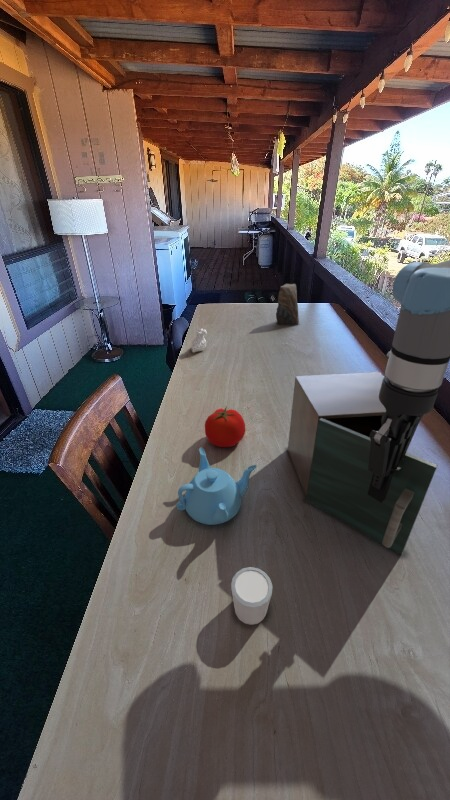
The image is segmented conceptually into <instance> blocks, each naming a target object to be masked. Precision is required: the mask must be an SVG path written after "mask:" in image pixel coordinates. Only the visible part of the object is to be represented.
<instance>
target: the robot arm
mask: <svg viewBox="0 0 450 800" xmlns="http://www.w3.org/2000/svg"><path fill="white" fill-rule="evenodd" d="M391 288H392V295H393V297H394V300H395V301H396V302H398V303H399V304H400V308H399V312H398V318H397V321H396V326H395V331H394V334H393V335H394V336H393V338H392V343H391V347H390V351H388V352H387V353H386V357H387V358H388V359H387V363H386V367H385V370H384V371H385V372H384V375H385V376H384V378H383V381H382V385H381V389H380V393H379V400H380V402H381V403H382V404H383V406H384V407H385V409H386V412H384V414H383V415H382V419H381V423H382V425H381V428H380V430H379V431H375V430H372V431H371V433H370V436H369V437H370V440H371V446H370V455H369V465H368V471H370V472H371V473H373V476H372V480H371V483H370V487H369V490H368V495H369V496H371V497H373V498H374V499H376V500H377V501H379V502H380V503H382V502H383V501H384V500H385V499H386V495H387V492H388V489H389V486H390V483H391V480H392V477H393V474H394V471H393V470H395V471H397V472H400V470H401V469H402V468H401V467H400V466H398V463H399V462H400V463H401V462H402V461H403V459H404V456H405V454H406V452H407V453H408V449H409V447H410V445H411V442H412V440H413V437H414V435H415V433H416V430H417V429H418V426H419V424H420V422H421V420H422V418H423V417H424V415H427V414H429V413H430V412H431V411H432V410H433V408H434V405H435V403H436V399H437V397H438V394H439V391H440V390H439V388H440V387H441V386H442V384H443V381H444V378H445V375H446V373H447V370H448V367H449V363H450V259H448V260H445V261H444V260H443V261H441V262H437V263H430V262H427V261H422V262H421V261H413V262H410V263H408V264H406V265H405V266H403V267H402V268H401V269H400V270H399V271H398V273H397V274H396V276H395V278H394V280H393V283H392V287H391Z"/></svg>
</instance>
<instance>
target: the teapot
mask: <svg viewBox="0 0 450 800" xmlns="http://www.w3.org/2000/svg"><path fill="white" fill-rule="evenodd" d="M198 453H199V459H200V460H199V466H198V472H197V473H196V475H194V476H193V478H192V479H191V480H190V482H189V483H185V484H182V485H181V486H180V487H179V488H178V491H177V496H178V498H179V501H177V502H176V505H175V506H176V509H177V510H178V511H186V513H187V514H188V516H189V517H190V518H191V519H193V520H194V521H195V522H198V523H200V524H203V525H208V526H215V525H221V524H224V523H226V522H228V521H230V520H231V519H233V518H234V517H235V516H236V515H237V514H238V512H239V511H240V510H241V505H242V497H243V496H244V495H245V494H246V492H247V491H248V490H249V489H248V488H249V483H250V477H251V474H252V473H253V471H255V469H256V468H257V465H256V464H252V465H250V466H248V467H247V468H245V470H244V471H243V473H242V476H241V477H240V479H239V480H238V481H235V480H234V478H233V477H232V476H231V475H230V474H229V473H228V472H226V471H225V470H224V469H222V468H218V467H211V466H210V464H209V461H208V458H207V453H206V451H205V449H204V447H199V449H198ZM183 492H184V496H183Z"/></svg>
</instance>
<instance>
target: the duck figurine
mask: <svg viewBox="0 0 450 800" xmlns="http://www.w3.org/2000/svg"><path fill="white" fill-rule="evenodd" d="M194 334H195V336H196V337H194V338H193V340H192V343H191V352H192V353H197V352H203V351H204V350H205V349H206V347H207V340H206V339H205V337H206V336H208V332H207V330H206V329H205V328H199V329H197V331H196V332H195V333H194Z"/></svg>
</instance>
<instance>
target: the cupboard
mask: <svg viewBox="0 0 450 800" xmlns="http://www.w3.org/2000/svg"><path fill="white" fill-rule="evenodd" d="M384 377H385V376H384V375H383V374H382V373H381V372H380V371H371V372H351V373H350V372H349V373H331V374H311V375H310V374H309V375H295V377H294V385H293V394H292V404H291V415H290V422H289V433H288V442H287V451H288V454H289V457H290V459H291V463H292V465H293V467H294V469H295V472H296V475H297V477H298V479H299V482H300V485H301V487H302V490H303V493H304V495H305V497H306V498H307V493H308V487H309V480H310V474H311V468H312V461H313V455H314V448H315V442H316V436H317V429H318V423H319V419H321V418H323V419H325V420H328V421H330V422H333V423H335V424H338V425H340V426H343V427H345V428H347V429H350V430H352V431H355V432H357V433H360V434H362V435H365V436H367V437H369V436H370V433H371V431H372V430H375V431H379V430H380V428H381V425H382V423H381V419H382V415H383V414H384V412H386V409H385V407H384V406H383V404H382V403H381V402H380V400H379V393H380V389H381V385H382V381H383V378H384Z"/></svg>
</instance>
